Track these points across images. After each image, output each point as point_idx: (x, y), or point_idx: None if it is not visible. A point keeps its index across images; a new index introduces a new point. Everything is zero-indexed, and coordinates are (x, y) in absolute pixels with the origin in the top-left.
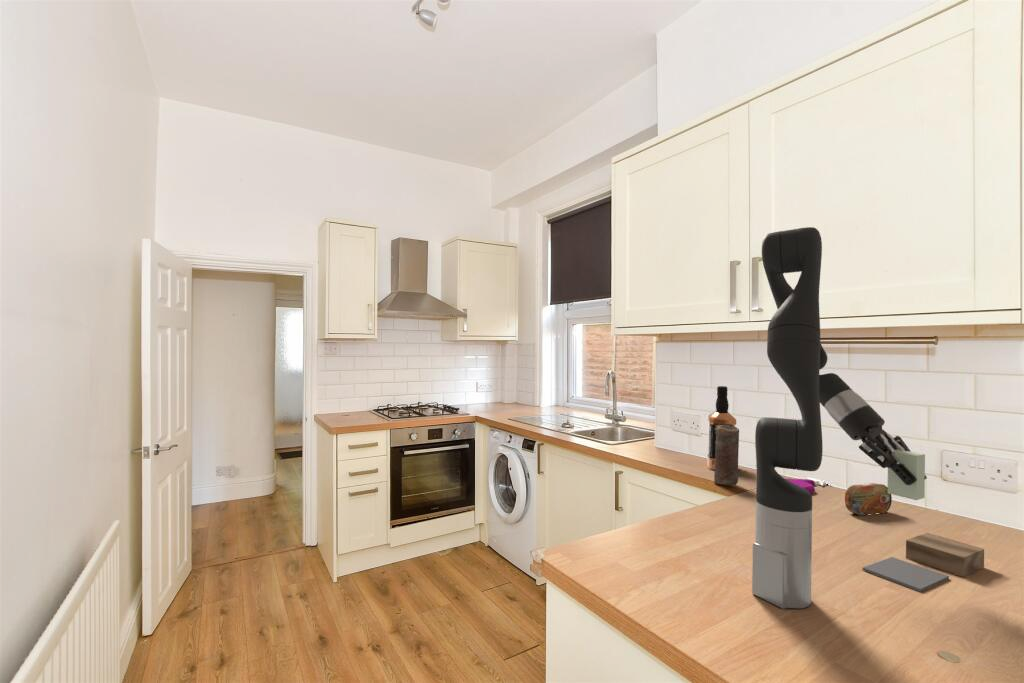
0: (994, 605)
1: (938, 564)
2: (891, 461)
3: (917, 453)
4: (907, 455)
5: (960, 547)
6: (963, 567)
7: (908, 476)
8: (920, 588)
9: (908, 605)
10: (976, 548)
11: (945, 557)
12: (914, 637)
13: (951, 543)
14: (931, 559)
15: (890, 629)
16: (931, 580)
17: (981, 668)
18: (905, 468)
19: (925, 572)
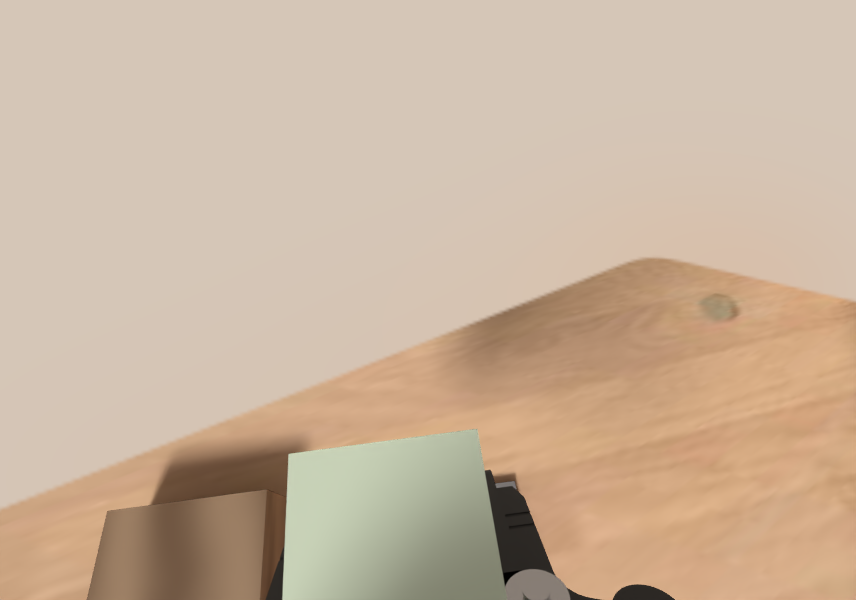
0: (407, 381)
1: None
2: (667, 597)
3: (328, 506)
4: (493, 522)
5: (160, 551)
6: (277, 495)
7: (521, 500)
8: (511, 483)
9: (618, 448)
10: (124, 523)
11: (269, 544)
12: (732, 360)
13: (137, 590)
14: None
15: (762, 394)
16: None
17: (691, 275)
18: (509, 534)
19: None
